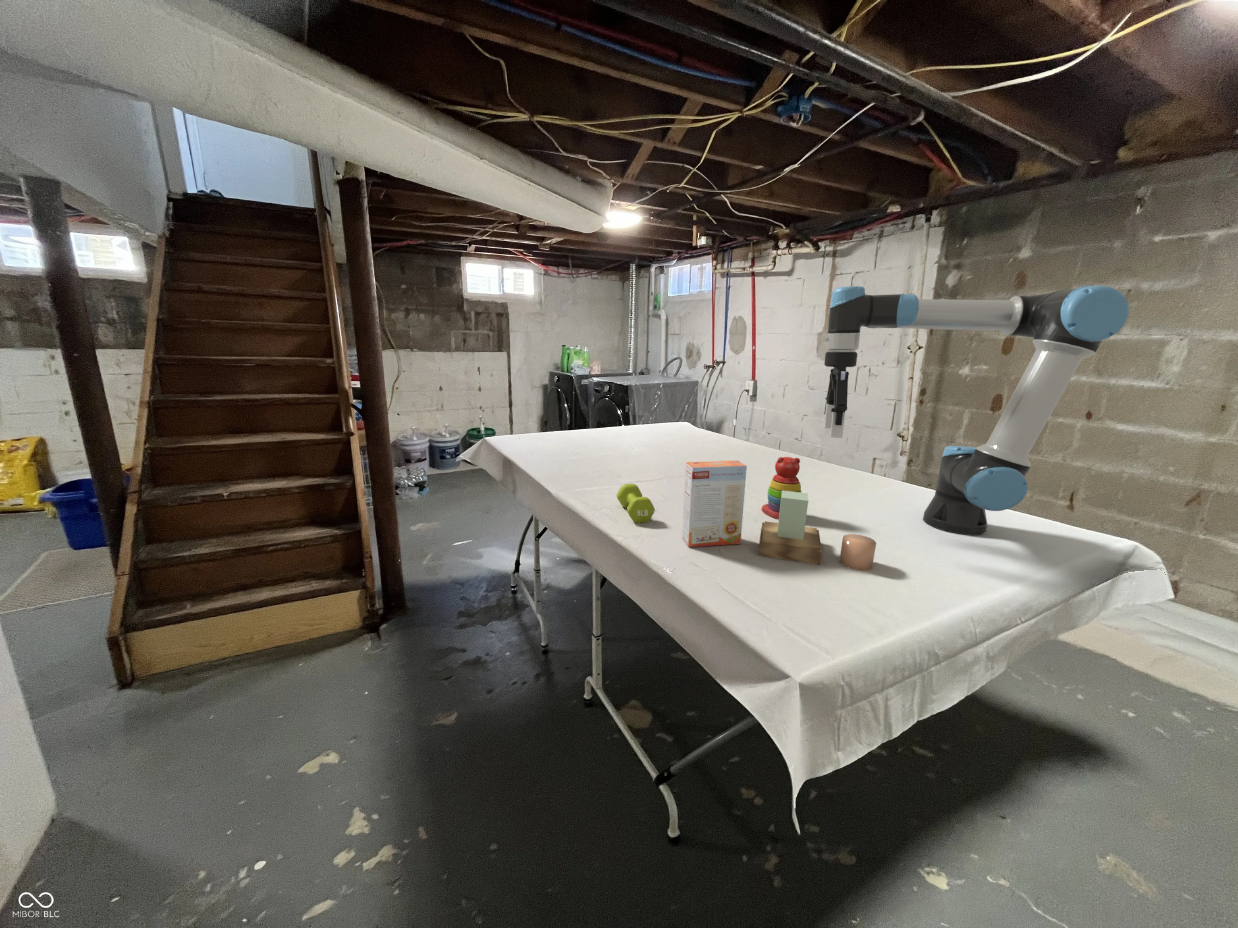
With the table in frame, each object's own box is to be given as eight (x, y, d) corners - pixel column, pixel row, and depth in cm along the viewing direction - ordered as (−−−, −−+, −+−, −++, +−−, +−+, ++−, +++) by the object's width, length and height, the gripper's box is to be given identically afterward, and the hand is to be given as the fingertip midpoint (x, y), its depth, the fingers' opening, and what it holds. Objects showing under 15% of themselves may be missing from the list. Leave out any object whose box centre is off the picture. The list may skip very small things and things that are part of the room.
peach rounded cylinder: (869, 559, 116) (873, 536, 114) (874, 572, 110) (878, 548, 108) (838, 555, 118) (841, 532, 117) (840, 567, 112) (844, 543, 110)
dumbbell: (655, 523, 136) (656, 499, 134) (628, 525, 134) (628, 500, 133) (640, 504, 152) (640, 482, 150) (615, 505, 150) (615, 483, 148)
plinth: (817, 542, 125) (819, 527, 124) (820, 564, 113) (822, 549, 112) (761, 534, 130) (762, 520, 129) (757, 555, 117) (759, 540, 116)
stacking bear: (795, 509, 149) (802, 453, 145) (804, 521, 139) (812, 462, 135) (760, 507, 150) (765, 452, 146) (766, 519, 140) (772, 460, 136)
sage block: (802, 531, 122) (807, 493, 119) (803, 540, 116) (808, 500, 114) (777, 527, 124) (782, 490, 121) (777, 536, 118) (781, 497, 116)
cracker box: (731, 535, 128) (738, 459, 123) (741, 545, 123) (748, 465, 117) (680, 538, 126) (685, 460, 121) (687, 547, 120) (693, 466, 115)
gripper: (820, 350, 136) (813, 424, 142) (831, 352, 113) (822, 441, 118) (849, 350, 134) (841, 425, 140) (867, 352, 111) (856, 442, 116)
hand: (832, 432), depth 129 cm, fingers open, 13 cm apart
